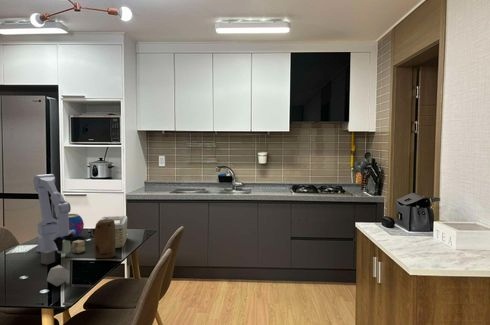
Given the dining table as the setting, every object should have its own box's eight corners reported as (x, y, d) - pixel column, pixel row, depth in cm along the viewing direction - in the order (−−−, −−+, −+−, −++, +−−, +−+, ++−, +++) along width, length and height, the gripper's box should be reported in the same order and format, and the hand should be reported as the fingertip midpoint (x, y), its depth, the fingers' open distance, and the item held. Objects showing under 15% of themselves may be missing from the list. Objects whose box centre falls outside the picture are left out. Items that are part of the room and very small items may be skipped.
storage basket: (124, 248, 213) (123, 223, 212) (95, 250, 210) (94, 224, 209) (128, 237, 237) (128, 215, 236) (102, 239, 233) (101, 216, 232)
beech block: (72, 252, 206) (72, 241, 206) (78, 250, 210) (78, 239, 210) (78, 253, 204) (78, 242, 204) (84, 250, 208) (84, 240, 208)
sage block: (57, 252, 196) (57, 242, 196) (64, 250, 201) (64, 239, 200) (63, 253, 195) (63, 242, 194) (70, 251, 199) (70, 240, 199)
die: (58, 280, 166) (43, 267, 161) (74, 271, 166) (60, 257, 161) (55, 293, 159) (39, 280, 154) (72, 283, 159) (57, 270, 154)
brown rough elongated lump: (116, 254, 202) (115, 218, 201) (114, 258, 195) (113, 221, 194) (95, 255, 200) (94, 219, 199) (93, 259, 193) (92, 222, 191)
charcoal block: (41, 263, 187) (40, 252, 187) (48, 260, 192) (48, 249, 191) (47, 264, 186) (47, 253, 185) (55, 261, 190) (54, 250, 189)
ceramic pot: (48, 239, 232) (47, 216, 231) (73, 233, 247) (73, 211, 246) (64, 243, 223) (63, 219, 222) (89, 237, 238) (89, 214, 237)
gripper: (57, 228, 189) (58, 254, 189) (79, 222, 202) (80, 246, 203) (47, 227, 191) (48, 252, 192) (69, 221, 205) (70, 245, 205)
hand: (63, 249), depth 198 cm, fingers closed on sage block, 4 cm apart
